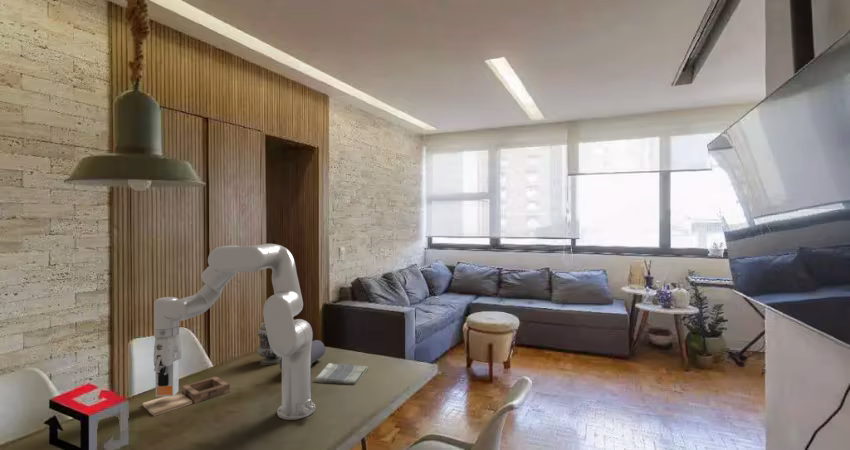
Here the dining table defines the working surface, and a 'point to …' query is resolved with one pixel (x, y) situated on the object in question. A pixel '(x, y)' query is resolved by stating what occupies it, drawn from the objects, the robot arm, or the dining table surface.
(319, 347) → the bluetooth speaker
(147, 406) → the pad
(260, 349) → the grey tall piece
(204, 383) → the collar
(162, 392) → the skincare box
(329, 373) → the dish towel
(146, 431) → the dining table surface
